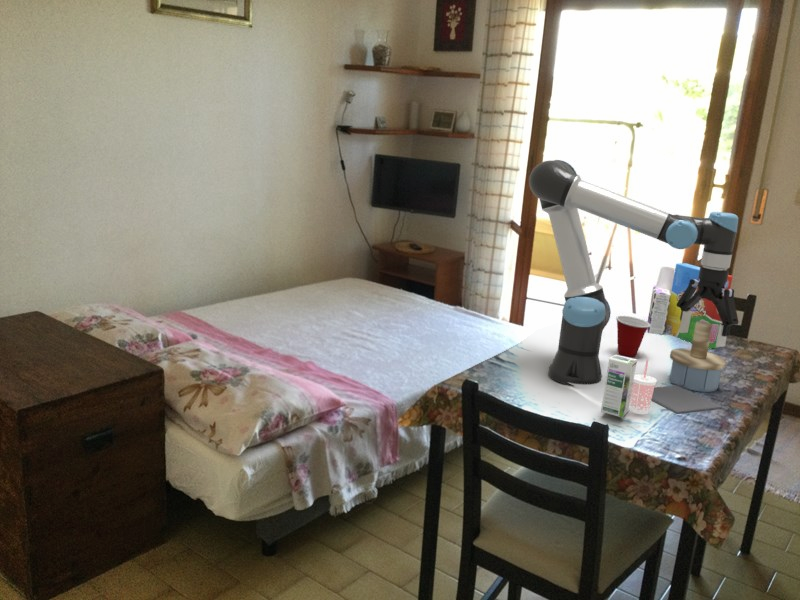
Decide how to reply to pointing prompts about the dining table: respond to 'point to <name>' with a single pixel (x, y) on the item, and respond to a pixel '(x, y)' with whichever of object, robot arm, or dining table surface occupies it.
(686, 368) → the bowl
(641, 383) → the beverage cup
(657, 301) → the candy box
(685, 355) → the lid
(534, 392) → the dining table surface
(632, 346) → the plastic cup
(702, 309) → the game box
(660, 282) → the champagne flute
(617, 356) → the syrup box
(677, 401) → the mat
